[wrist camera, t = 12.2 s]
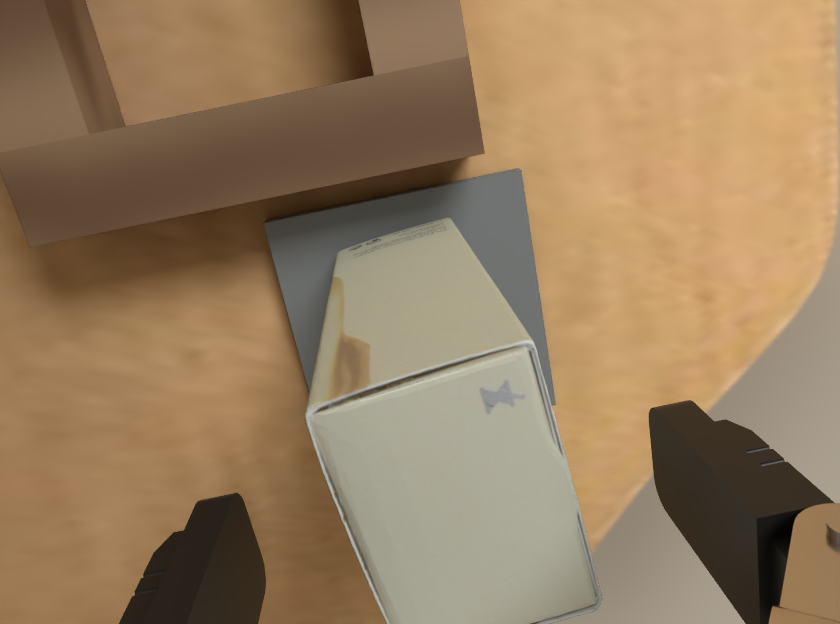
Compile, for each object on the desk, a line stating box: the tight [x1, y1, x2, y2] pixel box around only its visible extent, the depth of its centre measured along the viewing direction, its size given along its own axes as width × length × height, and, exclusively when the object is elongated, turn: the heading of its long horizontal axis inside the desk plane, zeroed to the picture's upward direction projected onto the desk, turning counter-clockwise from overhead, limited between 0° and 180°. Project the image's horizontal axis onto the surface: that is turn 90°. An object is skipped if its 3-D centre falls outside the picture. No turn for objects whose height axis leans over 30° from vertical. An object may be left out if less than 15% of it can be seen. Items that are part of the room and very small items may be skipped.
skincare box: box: [305, 218, 602, 624], centre depth 18 cm, size 6×4×12 cm
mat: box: [263, 168, 556, 405], centre depth 24 cm, size 9×9×1 cm
